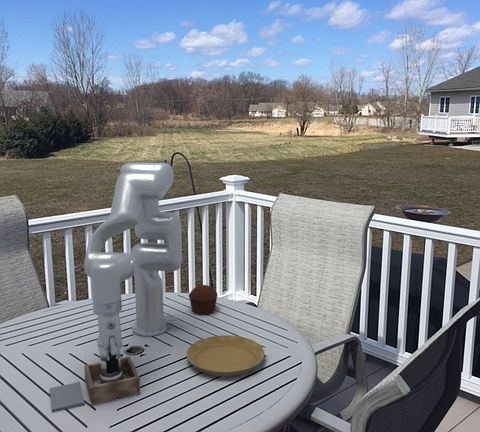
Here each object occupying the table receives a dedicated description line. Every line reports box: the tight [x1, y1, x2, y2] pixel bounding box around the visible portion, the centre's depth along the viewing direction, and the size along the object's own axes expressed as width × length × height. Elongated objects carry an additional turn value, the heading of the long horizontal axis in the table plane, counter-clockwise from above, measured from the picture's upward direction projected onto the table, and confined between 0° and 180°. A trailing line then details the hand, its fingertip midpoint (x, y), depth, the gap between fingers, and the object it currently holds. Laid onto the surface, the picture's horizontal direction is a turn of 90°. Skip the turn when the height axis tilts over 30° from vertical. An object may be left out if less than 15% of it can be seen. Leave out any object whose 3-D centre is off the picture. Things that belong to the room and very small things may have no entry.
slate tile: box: [49, 381, 85, 413], centre depth 130 cm, size 8×11×1 cm
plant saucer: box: [186, 334, 265, 378], centre depth 150 cm, size 24×24×3 cm
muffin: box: [188, 284, 219, 316], centre depth 188 cm, size 12×11×10 cm
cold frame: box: [83, 356, 141, 406], centre depth 134 cm, size 13×13×5 cm
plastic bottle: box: [96, 333, 125, 384], centre depth 133 cm, size 6×7×20 cm
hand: (110, 366), depth 133 cm, fingers closed on plastic bottle, 5 cm apart
